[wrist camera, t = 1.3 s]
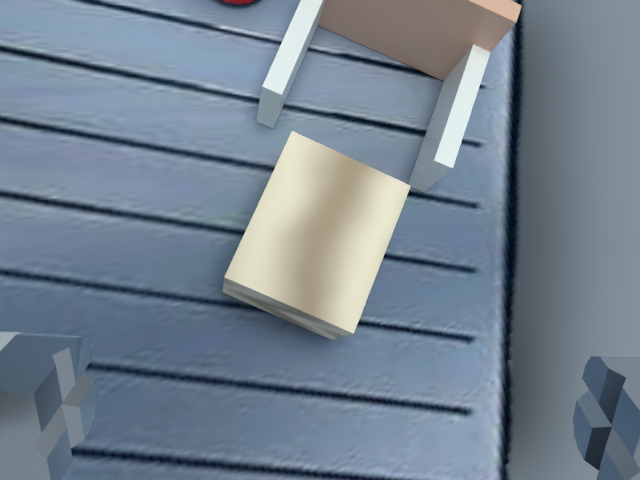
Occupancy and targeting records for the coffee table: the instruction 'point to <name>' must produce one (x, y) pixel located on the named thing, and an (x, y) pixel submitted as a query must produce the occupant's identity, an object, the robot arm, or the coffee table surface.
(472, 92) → the dock
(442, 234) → the coffee table surface
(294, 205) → the wooden block
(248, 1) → the beer can
